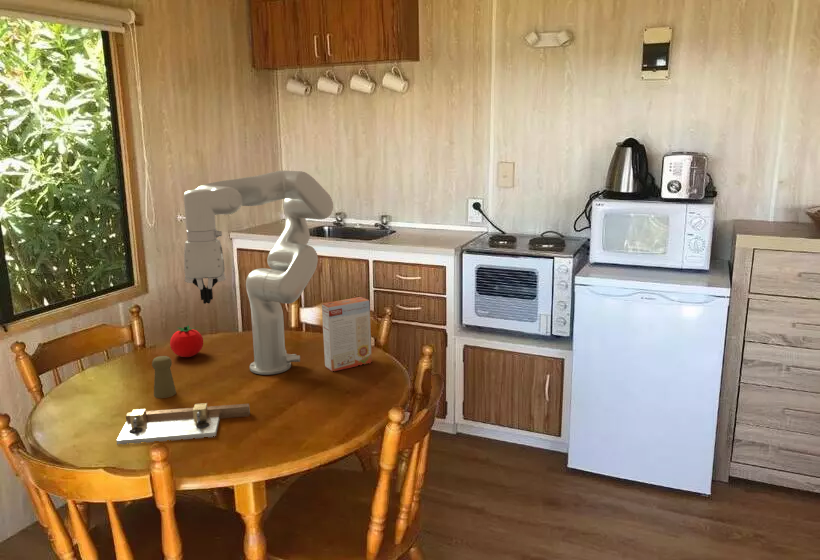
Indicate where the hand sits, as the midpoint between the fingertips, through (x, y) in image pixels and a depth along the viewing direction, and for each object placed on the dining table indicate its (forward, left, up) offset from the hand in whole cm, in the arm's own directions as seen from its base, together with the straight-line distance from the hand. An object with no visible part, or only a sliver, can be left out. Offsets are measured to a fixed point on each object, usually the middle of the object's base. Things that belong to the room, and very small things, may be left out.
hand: (207, 302), depth 187 cm
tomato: (+12, -34, -27) cm, 45 cm away
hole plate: (+5, +20, -27) cm, 34 cm away
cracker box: (-39, -16, -27) cm, 50 cm away
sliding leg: (+1, +20, -26) cm, 32 cm away
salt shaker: (+14, -3, -27) cm, 31 cm away
